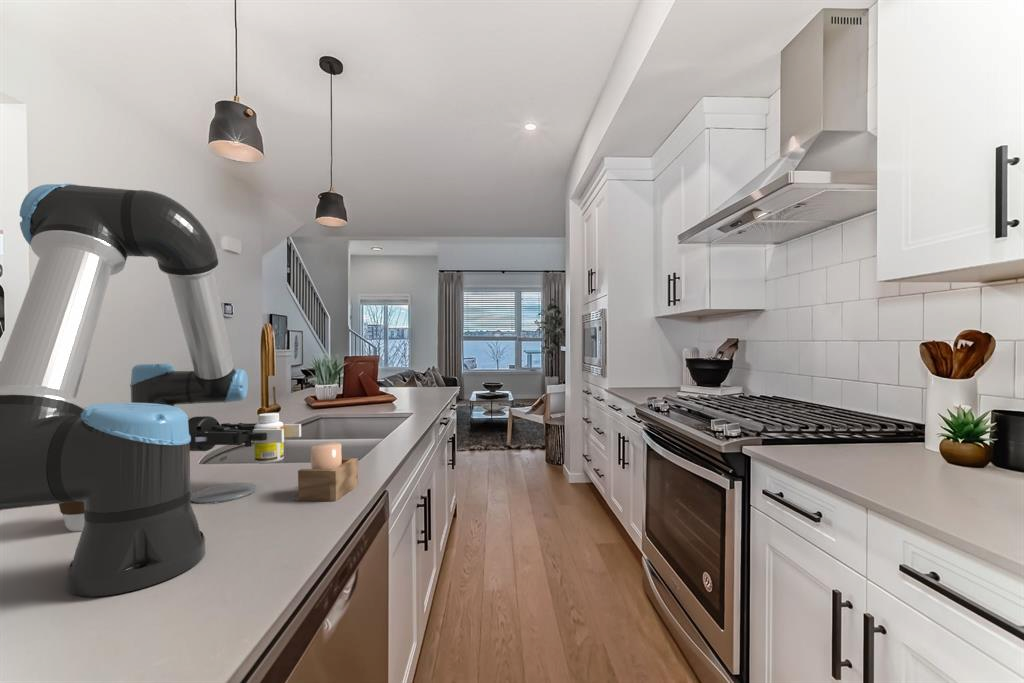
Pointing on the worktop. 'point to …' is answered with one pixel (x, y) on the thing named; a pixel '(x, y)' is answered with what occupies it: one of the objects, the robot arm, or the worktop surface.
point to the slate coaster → (223, 492)
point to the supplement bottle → (269, 450)
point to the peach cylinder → (326, 455)
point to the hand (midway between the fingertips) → (291, 433)
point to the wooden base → (327, 481)
